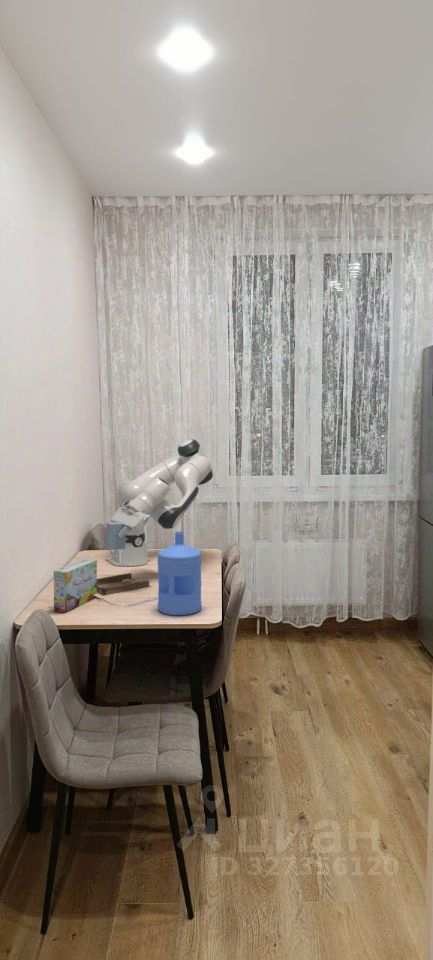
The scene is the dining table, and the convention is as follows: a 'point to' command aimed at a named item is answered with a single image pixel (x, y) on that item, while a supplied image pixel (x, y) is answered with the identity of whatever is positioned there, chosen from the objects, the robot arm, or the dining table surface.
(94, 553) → the dining table surface
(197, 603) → the water jug
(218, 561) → the dining table surface
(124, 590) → the frame
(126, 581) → the offcut upper
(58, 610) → the snack box
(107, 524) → the board
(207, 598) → the dining table surface
